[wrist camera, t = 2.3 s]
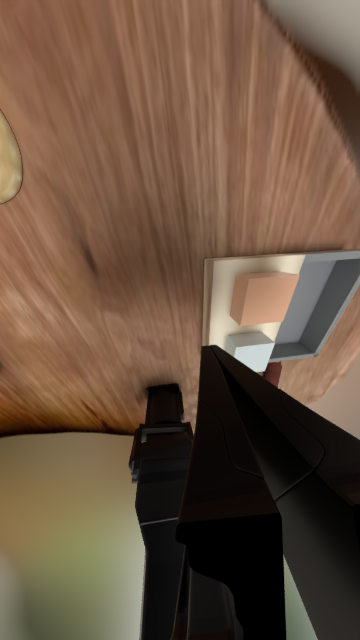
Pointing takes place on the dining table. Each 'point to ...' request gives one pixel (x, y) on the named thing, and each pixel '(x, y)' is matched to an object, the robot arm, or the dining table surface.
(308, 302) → the tray
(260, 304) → the tile terracotta
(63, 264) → the dining table surface
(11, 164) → the hand bell
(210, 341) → the board
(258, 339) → the grey sharp-edged block
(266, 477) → the robot arm
